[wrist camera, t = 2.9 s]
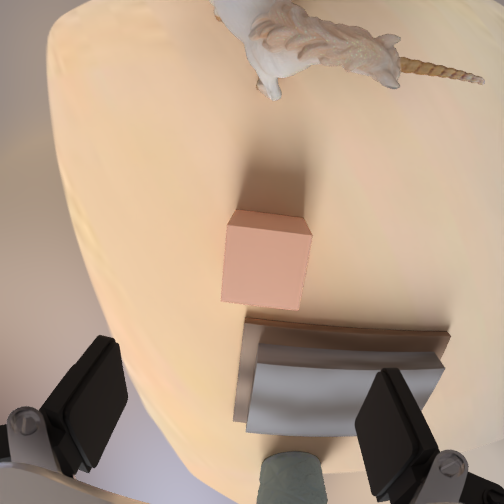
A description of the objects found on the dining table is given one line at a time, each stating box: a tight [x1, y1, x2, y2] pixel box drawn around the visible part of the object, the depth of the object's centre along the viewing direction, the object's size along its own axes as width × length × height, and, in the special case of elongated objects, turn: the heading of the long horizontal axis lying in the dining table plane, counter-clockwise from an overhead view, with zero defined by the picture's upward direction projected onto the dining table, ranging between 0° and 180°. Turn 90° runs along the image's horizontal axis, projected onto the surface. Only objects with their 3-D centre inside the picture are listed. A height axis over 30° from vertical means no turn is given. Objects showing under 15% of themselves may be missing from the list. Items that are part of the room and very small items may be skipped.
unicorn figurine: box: [209, 0, 485, 101], centre depth 14 cm, size 7×20×13 cm, turn 45°
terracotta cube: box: [221, 209, 312, 311], centre depth 23 cm, size 6×6×6 cm
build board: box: [233, 317, 451, 437], centre depth 28 cm, size 14×22×4 cm, turn 84°
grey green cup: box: [257, 451, 328, 504], centre depth 30 cm, size 10×10×12 cm
